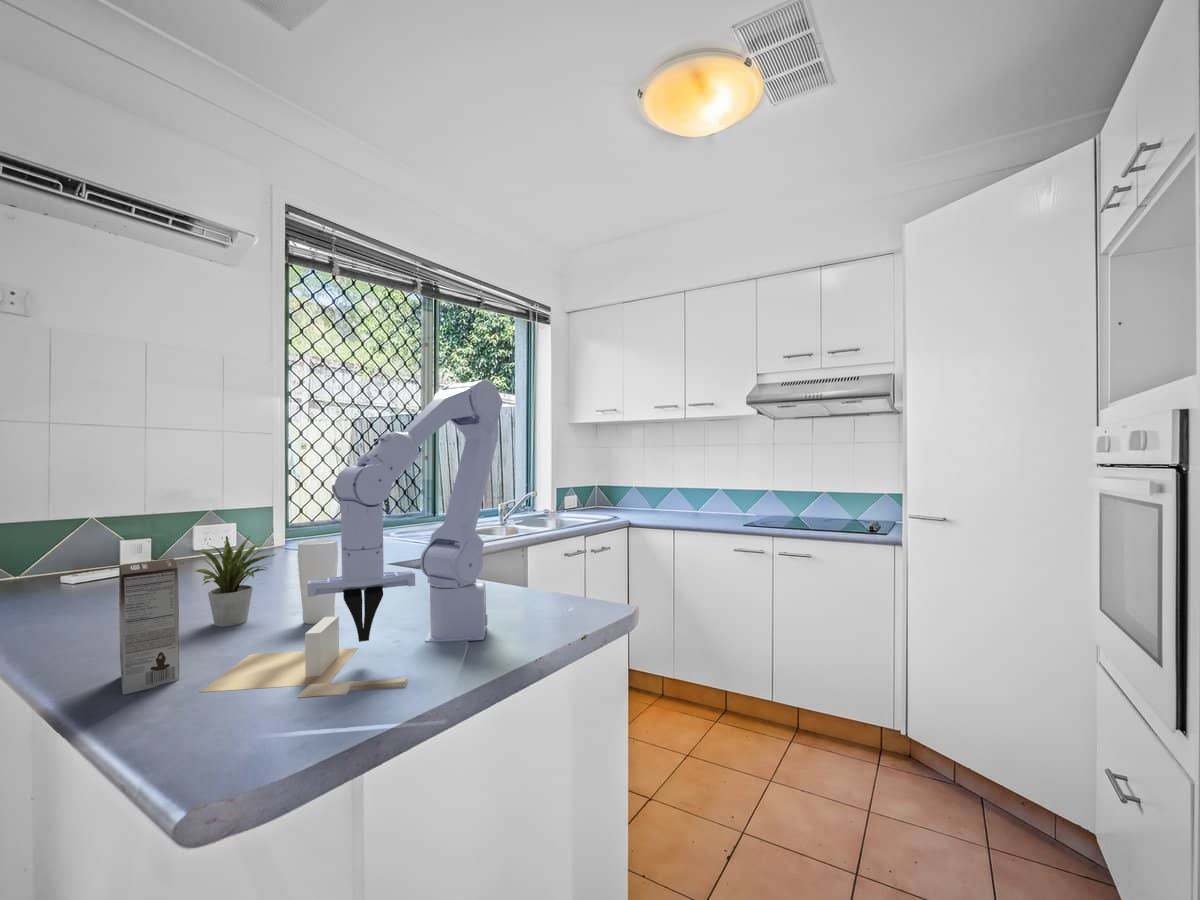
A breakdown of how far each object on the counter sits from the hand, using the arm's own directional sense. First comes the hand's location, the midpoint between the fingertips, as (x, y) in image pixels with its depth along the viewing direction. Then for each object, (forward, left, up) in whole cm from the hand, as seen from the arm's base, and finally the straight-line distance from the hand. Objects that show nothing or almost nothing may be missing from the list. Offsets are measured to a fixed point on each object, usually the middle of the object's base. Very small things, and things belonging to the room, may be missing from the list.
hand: (363, 639), depth 83 cm
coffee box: (+29, 0, -4) cm, 29 cm away
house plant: (+31, -26, -4) cm, 40 cm away
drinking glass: (+15, -25, -4) cm, 29 cm away
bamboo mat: (+11, 0, -4) cm, 11 cm away
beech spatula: (-1, +9, -4) cm, 10 cm away
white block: (+6, 0, -3) cm, 7 cm away
